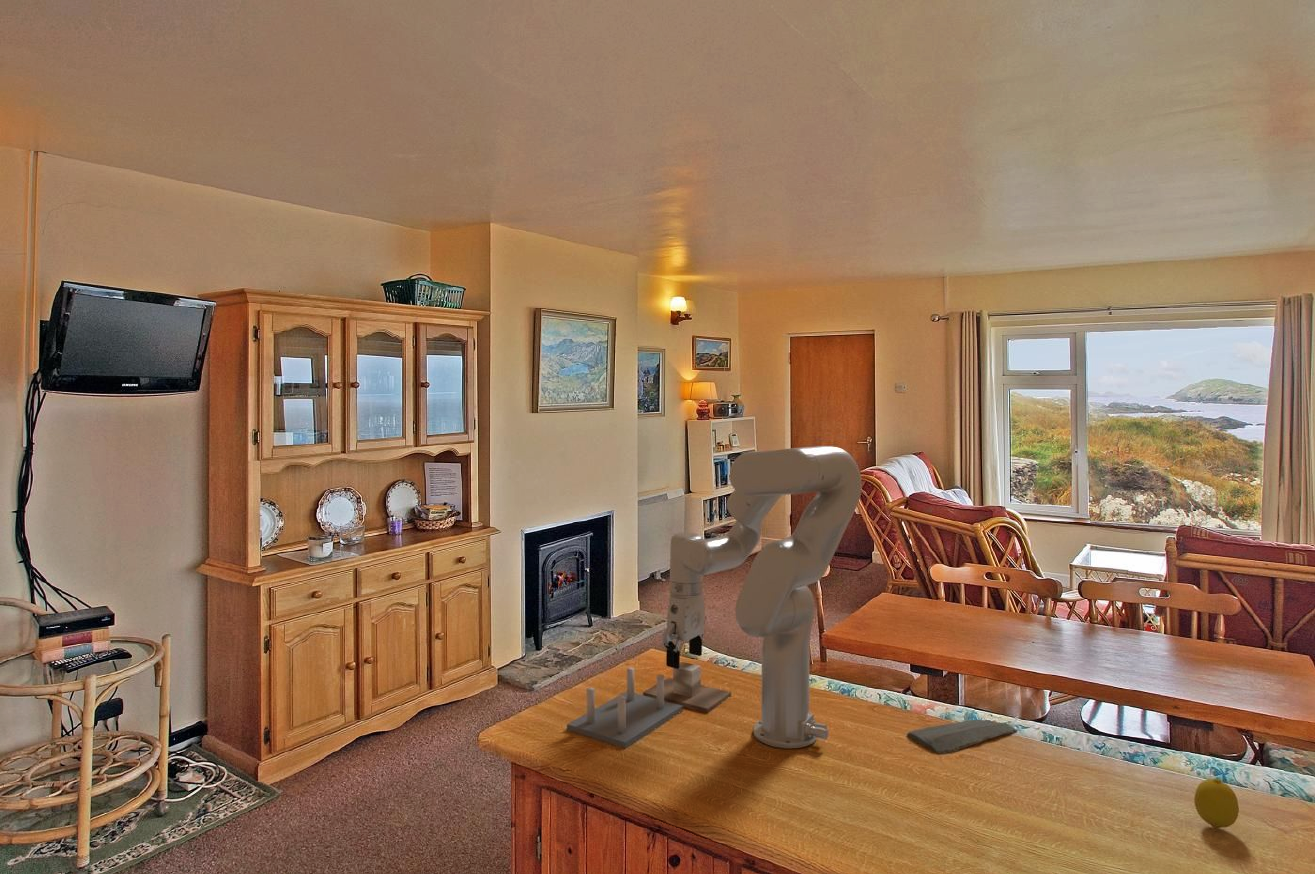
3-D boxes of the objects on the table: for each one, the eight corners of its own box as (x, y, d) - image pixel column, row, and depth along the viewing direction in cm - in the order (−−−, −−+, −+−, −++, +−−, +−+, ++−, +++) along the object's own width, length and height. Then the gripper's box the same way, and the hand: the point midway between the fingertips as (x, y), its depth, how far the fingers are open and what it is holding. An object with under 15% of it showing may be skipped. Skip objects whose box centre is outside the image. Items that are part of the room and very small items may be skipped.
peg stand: (682, 711, 161) (682, 674, 161) (625, 748, 144) (625, 707, 143) (627, 696, 170) (627, 660, 169) (566, 729, 152) (566, 690, 152)
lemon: (1185, 819, 119) (1186, 770, 118) (1217, 817, 119) (1218, 769, 119) (1213, 839, 113) (1215, 788, 113) (1247, 837, 114) (1249, 787, 113)
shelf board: (731, 698, 169) (731, 666, 169) (707, 715, 160) (707, 681, 160) (668, 683, 179) (668, 652, 178) (643, 698, 169) (642, 666, 169)
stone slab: (903, 743, 149) (941, 758, 140) (902, 729, 149) (940, 743, 140) (982, 723, 159) (1022, 736, 150) (981, 710, 159) (1021, 722, 150)
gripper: (679, 599, 159) (677, 676, 160) (719, 582, 174) (717, 653, 175) (651, 593, 163) (649, 668, 165) (691, 577, 178) (690, 646, 179)
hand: (684, 660), depth 170 cm, fingers open, 9 cm apart
